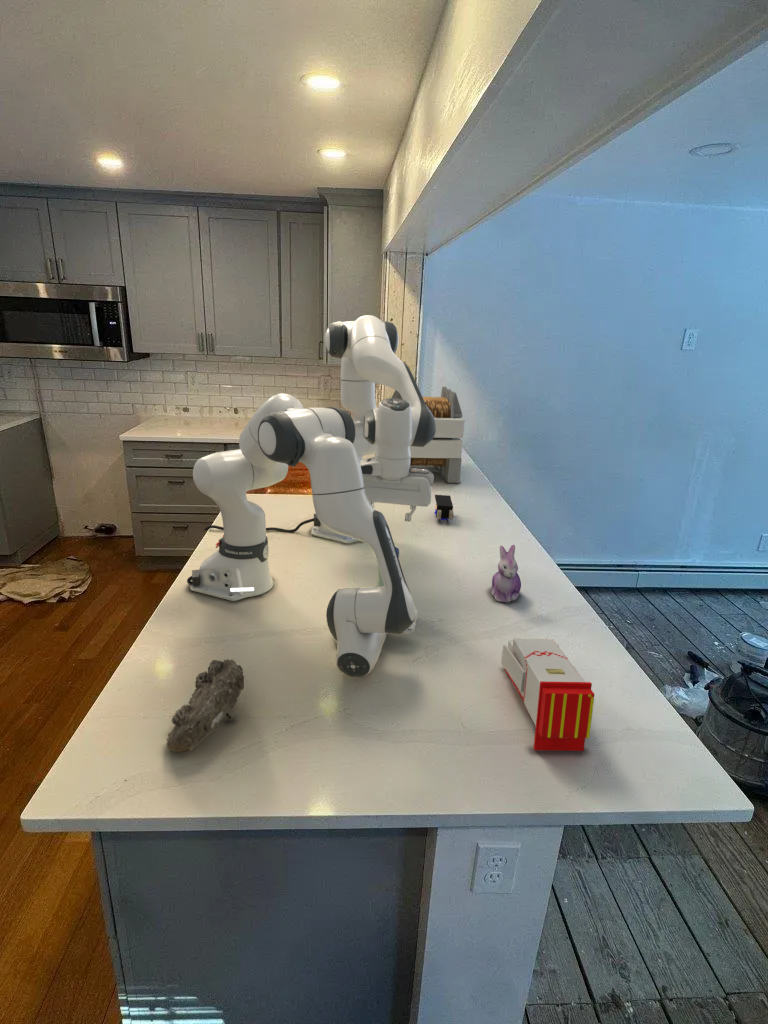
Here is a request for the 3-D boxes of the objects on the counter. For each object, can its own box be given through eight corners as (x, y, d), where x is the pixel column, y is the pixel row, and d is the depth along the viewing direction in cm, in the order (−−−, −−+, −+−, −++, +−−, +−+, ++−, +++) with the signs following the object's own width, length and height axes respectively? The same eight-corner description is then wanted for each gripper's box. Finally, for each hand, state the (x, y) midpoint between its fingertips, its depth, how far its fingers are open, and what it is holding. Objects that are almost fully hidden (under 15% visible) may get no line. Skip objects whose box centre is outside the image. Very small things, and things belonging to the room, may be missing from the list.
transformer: (382, 463, 289) (386, 382, 275) (445, 464, 293) (451, 384, 279) (390, 482, 257) (394, 392, 243) (460, 483, 261) (468, 394, 247)
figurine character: (453, 528, 210) (448, 510, 224) (455, 510, 207) (450, 493, 220) (435, 528, 210) (432, 510, 223) (437, 509, 207) (433, 492, 220)
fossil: (192, 660, 117) (244, 628, 112) (224, 691, 120) (276, 661, 115) (142, 746, 98) (202, 712, 93) (182, 779, 101) (242, 748, 96)
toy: (549, 621, 128) (604, 690, 99) (544, 676, 131) (595, 758, 101) (496, 620, 128) (535, 688, 98) (492, 675, 130) (528, 757, 101)
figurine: (503, 606, 153) (510, 556, 148) (480, 590, 162) (486, 542, 156) (530, 600, 157) (537, 550, 152) (507, 584, 166) (513, 537, 161)
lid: (375, 551, 150) (376, 545, 149) (397, 552, 151) (397, 545, 150) (377, 561, 145) (377, 554, 144) (400, 561, 145) (400, 554, 145)
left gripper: (414, 621, 129) (422, 593, 142) (327, 609, 132) (342, 582, 145) (412, 645, 131) (420, 615, 144) (327, 632, 134) (342, 604, 147)
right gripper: (435, 466, 141) (431, 518, 146) (354, 460, 144) (353, 511, 148) (433, 473, 135) (429, 527, 140) (349, 466, 138) (348, 519, 142)
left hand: (380, 599), depth 144 cm, fingers open, 8 cm apart
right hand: (389, 519), depth 144 cm, fingers open, 8 cm apart
